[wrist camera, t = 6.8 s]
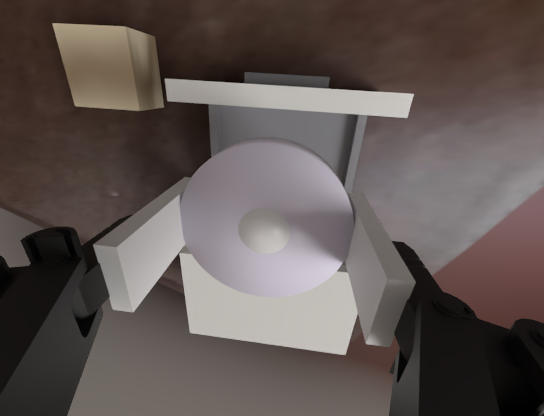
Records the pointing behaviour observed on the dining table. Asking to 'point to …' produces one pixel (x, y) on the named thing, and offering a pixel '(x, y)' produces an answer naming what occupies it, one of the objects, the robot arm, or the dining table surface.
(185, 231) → the lid
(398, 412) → the robot arm
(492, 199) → the dining table surface
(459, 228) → the dining table surface
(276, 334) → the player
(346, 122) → the tray
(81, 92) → the beige block
